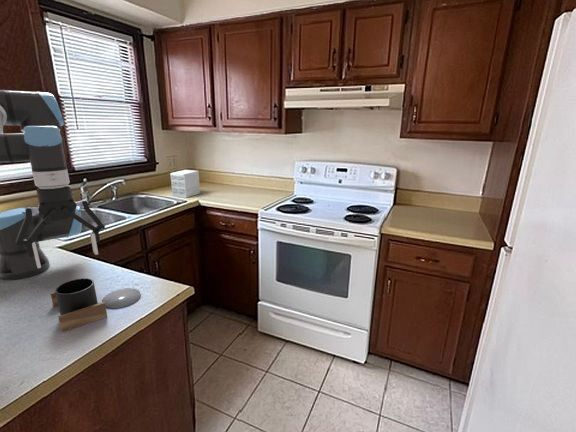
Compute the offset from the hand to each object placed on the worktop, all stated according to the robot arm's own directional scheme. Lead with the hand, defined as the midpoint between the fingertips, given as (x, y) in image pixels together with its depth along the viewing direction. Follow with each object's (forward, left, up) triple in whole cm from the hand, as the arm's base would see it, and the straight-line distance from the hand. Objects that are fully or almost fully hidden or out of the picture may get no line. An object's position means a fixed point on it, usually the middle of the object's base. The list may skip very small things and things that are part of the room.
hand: (68, 259), depth 90 cm
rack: (0, 0, -17) cm, 17 cm away
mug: (0, 0, -17) cm, 17 cm away
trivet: (+1, +12, -17) cm, 21 cm away
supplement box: (-124, +92, -17) cm, 156 cm away
